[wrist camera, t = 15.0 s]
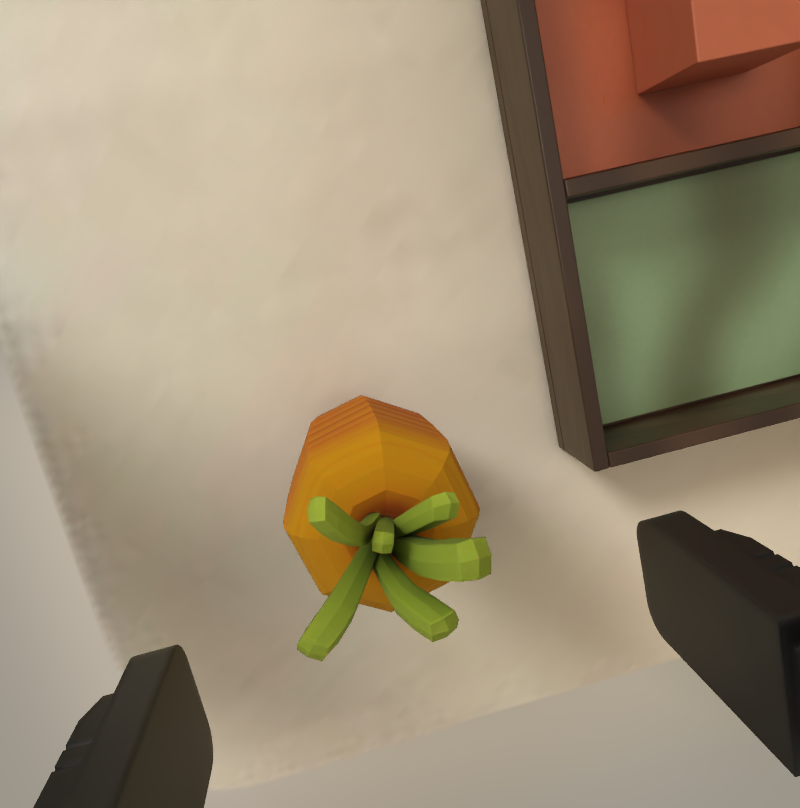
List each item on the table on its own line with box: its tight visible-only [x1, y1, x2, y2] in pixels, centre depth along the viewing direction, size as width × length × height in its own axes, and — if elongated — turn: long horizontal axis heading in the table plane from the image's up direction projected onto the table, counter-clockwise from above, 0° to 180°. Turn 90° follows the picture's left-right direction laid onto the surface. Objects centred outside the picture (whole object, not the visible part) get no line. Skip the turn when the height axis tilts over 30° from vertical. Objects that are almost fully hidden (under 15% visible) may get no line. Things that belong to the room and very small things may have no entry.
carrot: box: [283, 396, 491, 661], centre depth 19 cm, size 5×5×15 cm
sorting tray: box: [481, 0, 800, 471], centre depth 25 cm, size 14×20×4 cm
